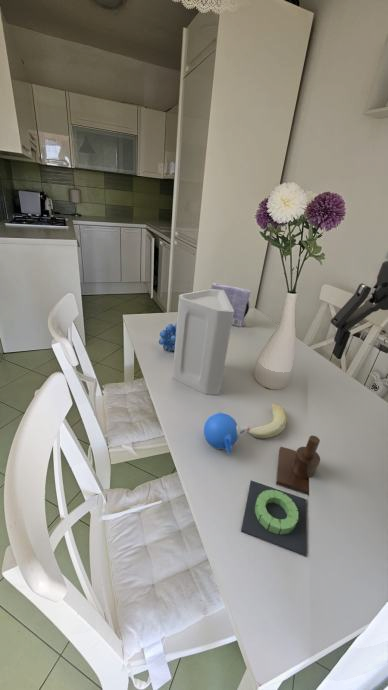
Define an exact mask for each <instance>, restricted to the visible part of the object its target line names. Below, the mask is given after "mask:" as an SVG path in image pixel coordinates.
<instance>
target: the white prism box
mask: <svg viewBox="0 0 388 690" xmlns="http://www.w3.org/2000/svg"><path fill="white" fill-rule="evenodd" d="M233 314H234V310H233V308H232V306H231V304H230V302H229V300H228V298H227V296H226V293H225V291H224V290H216V289H211V288H209V289H203V290H197V291H192V292H186V293H181V294H179V295H178V305H177V318H176V323H177V328H176V340H175V351H173V352H174V353H173V364H172V379H173V380H175V381H177V382H179V383H181V384H183V385H186V386H188V387H189V388H192V389H193V390H196V391H198V392H200V393H201V394H204V395H208V396H219V395H220V394H221V387H222V383H223V382H222V381H223V376H224V371H225V366H226V365H225V364H226V359H227V353H228V348H229V342H230V336H231V330H232V326H233V325H232V319H233Z"/></svg>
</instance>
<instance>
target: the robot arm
mask: <svg viewBox="0 0 388 690" xmlns="http://www.w3.org/2000/svg"><path fill="white" fill-rule="evenodd" d="M384 256H385V260H384V262H382V263H381V266H380V268H379V271H378V274H377V276H376V278H377V279H376V283H375V284H374V286H370V285H367V284H365V283H359V284H358V286H357V288H356V291H355V293H354V294H353V295H352V296H350V298H349V299H348V301H346V303H345V304H344V305H343V306H342V307H341V308H340V310H338V311H337V312H336V313H335V315H334V316H333V317H332V318H331V320H330V323H331V324H332V325H333V327H335V328H336V332H335V335H334V337H333V341H334V342H335V344H334V346H333V349H332V354H333V356H334V357H335V358H336V359H337V360H341V359H342V358H343V355H344V352H345V349H346V347H347V344H348V341H349V339H350V337H351V335H352V332H351V331H350V329H352V328H353V327H355V326H356V325H357V324H359V323H360V322H362V321H363V320H364V319H367V317H369V316H370V315H371V314H373V313H375V312H378V311H379V310H381V311H388V250H387V251H386V254H385V255H384Z"/></svg>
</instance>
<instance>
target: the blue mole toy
mask: <svg viewBox="0 0 388 690" xmlns="http://www.w3.org/2000/svg"><path fill="white" fill-rule="evenodd" d="M250 429H251V427H250V426H241V425H238V423H237V422H236V418H234V417H233V416H231V414H228V413H225V412H217V413H213V414H212V415H210V416H209V417H208V418H207V420H206V421H205V423H204V427H203V434H204V438H205V441H206V442H207V444H209V446H210V447H212V448H213V449H216V450H226V453H227V454H231V452H232V446H233V445H235V444H236V442H237V440H238V438H239V437H240V436H242V435H243V434H244V433H245V432H247V431H249V430H250Z"/></svg>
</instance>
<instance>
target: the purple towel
mask: <svg viewBox="0 0 388 690" xmlns="http://www.w3.org/2000/svg"><path fill="white" fill-rule="evenodd" d="M210 289H216V290H224V291H225V293H226V296H227V298H228V300H229V302H230V304H231V306H232V308H233V310H234V314H233V319H232V325H231V326H233V327H239V328H243V326H244V324H245V319H246V316H247V314H248V313H249V310H250V296H251V289H246V288H241V287H236V286H233V285H227V284H223V283H217V282H213V283H211V287H210Z"/></svg>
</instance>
